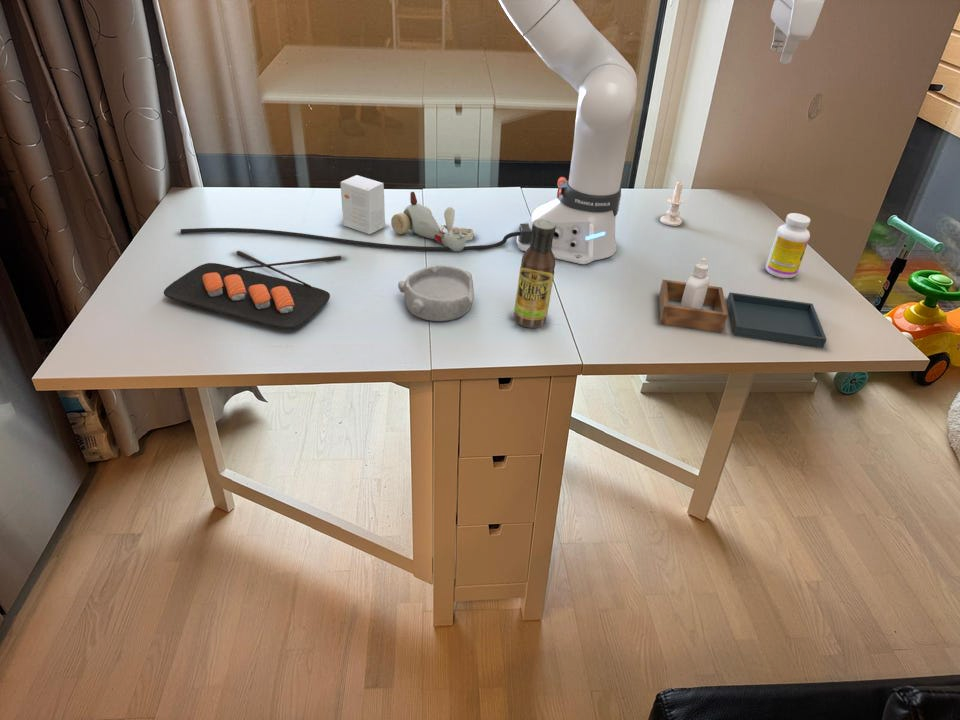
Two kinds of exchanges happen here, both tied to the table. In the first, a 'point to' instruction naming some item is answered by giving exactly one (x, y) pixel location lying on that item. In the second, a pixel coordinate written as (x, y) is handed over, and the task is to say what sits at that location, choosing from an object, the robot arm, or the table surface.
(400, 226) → the toy dog
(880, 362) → the table surface
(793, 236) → the supplement bottle
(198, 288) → the sushi plate
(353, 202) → the small box
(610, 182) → the robot arm
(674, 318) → the crate
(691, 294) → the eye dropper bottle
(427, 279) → the dish
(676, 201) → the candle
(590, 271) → the table surface
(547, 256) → the sauce bottle
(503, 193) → the table surface
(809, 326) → the tray
